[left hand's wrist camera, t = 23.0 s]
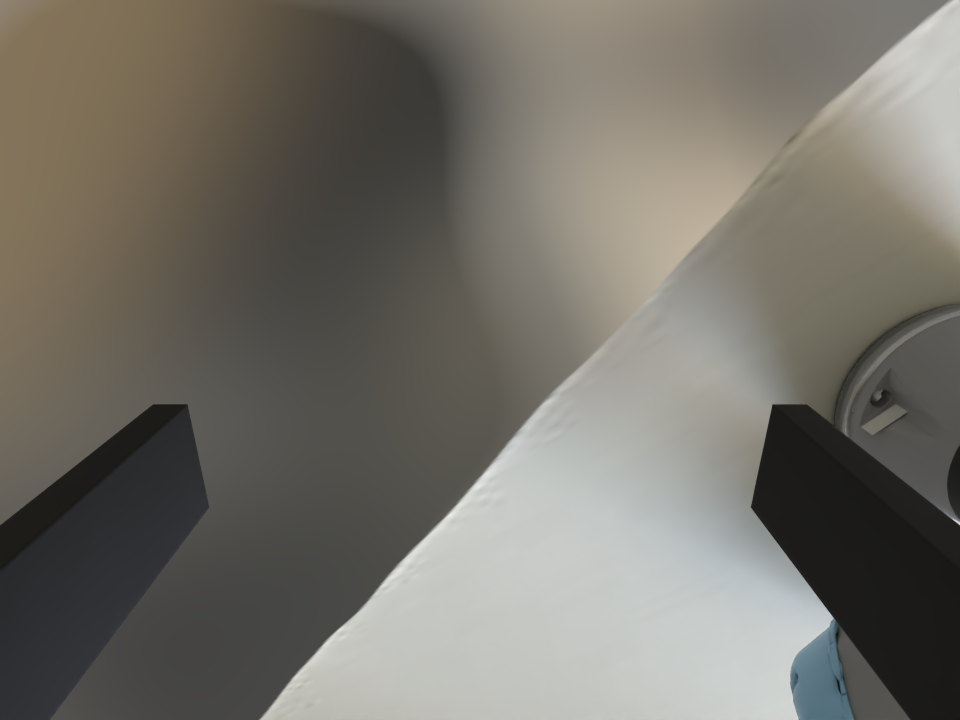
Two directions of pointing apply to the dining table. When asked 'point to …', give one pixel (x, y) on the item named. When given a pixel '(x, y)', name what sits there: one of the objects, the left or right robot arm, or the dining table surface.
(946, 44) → the dining table surface
